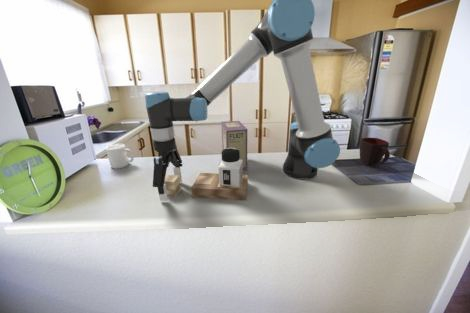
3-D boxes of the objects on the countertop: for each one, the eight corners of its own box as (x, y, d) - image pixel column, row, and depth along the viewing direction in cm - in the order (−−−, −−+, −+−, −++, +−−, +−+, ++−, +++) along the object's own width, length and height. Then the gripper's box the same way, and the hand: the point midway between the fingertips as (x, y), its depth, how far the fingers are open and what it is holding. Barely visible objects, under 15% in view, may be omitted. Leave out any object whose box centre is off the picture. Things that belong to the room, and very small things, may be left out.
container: (239, 187, 73) (239, 154, 68) (219, 185, 74) (217, 153, 69) (242, 177, 80) (242, 146, 75) (223, 175, 81) (222, 145, 76)
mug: (370, 159, 103) (376, 137, 99) (392, 171, 91) (401, 146, 86) (352, 160, 102) (357, 138, 98) (372, 173, 90) (379, 148, 85)
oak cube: (181, 188, 81) (179, 175, 79) (176, 195, 76) (173, 181, 74) (169, 187, 82) (167, 174, 79) (163, 194, 77) (161, 181, 75)
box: (247, 170, 94) (247, 129, 86) (228, 172, 93) (226, 130, 85) (239, 157, 109) (239, 120, 101) (223, 158, 108) (221, 121, 100)
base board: (247, 183, 84) (247, 174, 82) (245, 200, 73) (245, 190, 71) (201, 181, 86) (200, 172, 84) (192, 197, 75) (190, 187, 73)
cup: (117, 161, 106) (112, 143, 102) (139, 161, 106) (135, 143, 102) (107, 168, 99) (101, 149, 95) (131, 168, 98) (126, 149, 94)
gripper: (168, 128, 82) (175, 174, 90) (132, 150, 59) (146, 209, 68) (186, 128, 81) (191, 175, 90) (156, 151, 58) (167, 210, 67)
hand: (171, 190), depth 79 cm, fingers open, 13 cm apart
